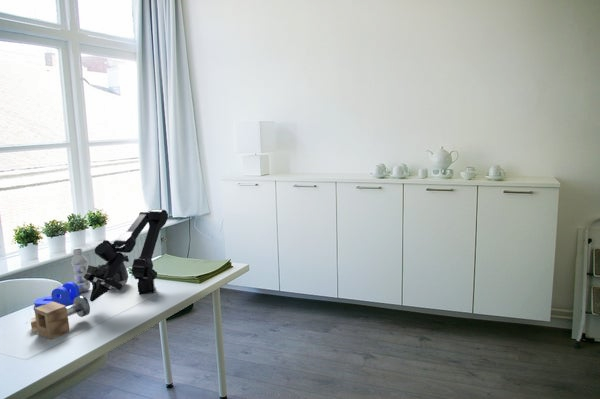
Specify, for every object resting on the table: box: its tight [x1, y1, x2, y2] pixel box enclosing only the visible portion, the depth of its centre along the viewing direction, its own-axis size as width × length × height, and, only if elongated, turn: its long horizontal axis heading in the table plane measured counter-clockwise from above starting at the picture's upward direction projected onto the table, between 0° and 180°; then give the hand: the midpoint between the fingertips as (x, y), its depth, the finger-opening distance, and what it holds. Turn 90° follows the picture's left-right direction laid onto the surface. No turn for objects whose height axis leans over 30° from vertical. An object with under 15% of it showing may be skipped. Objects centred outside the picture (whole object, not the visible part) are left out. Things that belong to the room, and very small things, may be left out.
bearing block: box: [33, 302, 71, 340], centre depth 166 cm, size 7×9×10 cm
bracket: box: [33, 280, 81, 308], centre depth 194 cm, size 18×8×9 cm, turn 80°
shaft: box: [66, 294, 91, 318], centre depth 171 cm, size 12×8×8 cm, turn 146°
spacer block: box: [30, 317, 38, 333], centre depth 170 cm, size 4×4×4 cm
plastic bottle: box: [70, 248, 91, 293], centre depth 207 cm, size 6×7×20 cm
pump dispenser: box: [110, 254, 129, 289], centre depth 212 cm, size 10×10×15 cm
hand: (90, 300), depth 178 cm, fingers closed
